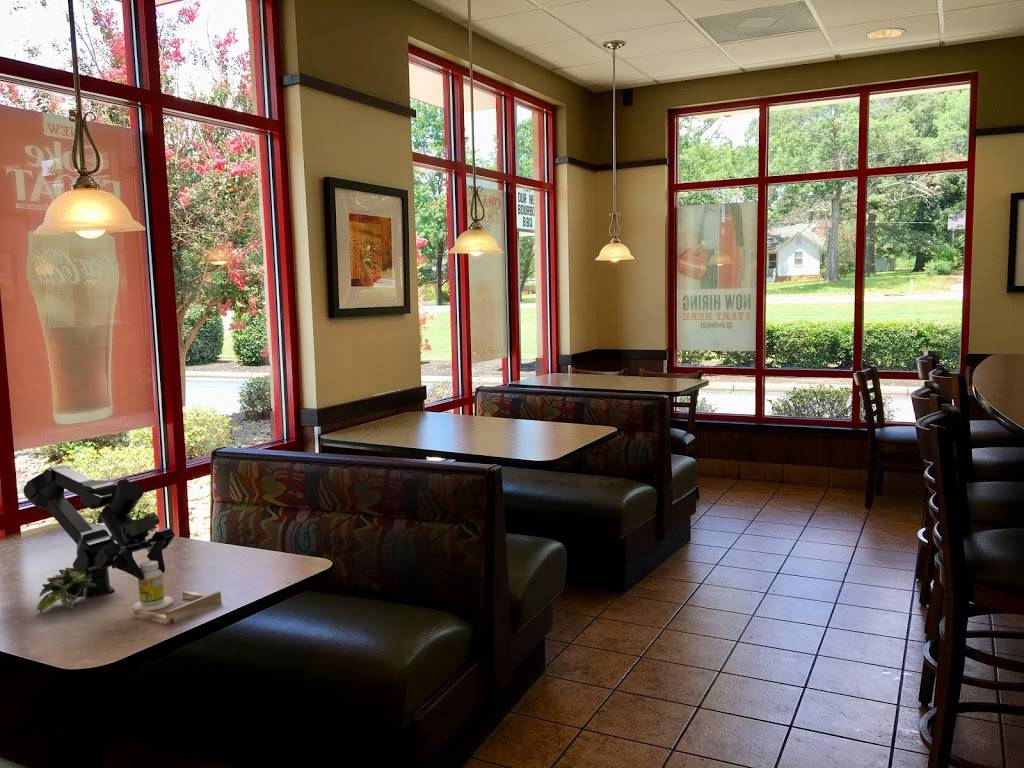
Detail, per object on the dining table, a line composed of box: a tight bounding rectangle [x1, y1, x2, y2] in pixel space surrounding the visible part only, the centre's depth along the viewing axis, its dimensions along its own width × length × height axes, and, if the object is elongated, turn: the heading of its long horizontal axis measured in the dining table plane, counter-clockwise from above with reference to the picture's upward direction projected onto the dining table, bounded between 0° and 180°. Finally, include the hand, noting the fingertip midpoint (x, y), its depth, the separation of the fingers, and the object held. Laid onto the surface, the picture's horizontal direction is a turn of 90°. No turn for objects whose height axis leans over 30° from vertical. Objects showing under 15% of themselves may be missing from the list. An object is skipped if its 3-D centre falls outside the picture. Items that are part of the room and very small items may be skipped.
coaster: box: [132, 595, 174, 612], centre depth 198 cm, size 9×9×1 cm
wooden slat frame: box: [133, 590, 222, 626], centre depth 194 cm, size 12×14×3 cm
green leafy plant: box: [36, 567, 96, 613], centre depth 199 cm, size 11×11×12 cm
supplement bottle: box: [137, 560, 165, 605], centre depth 198 cm, size 5×5×10 cm
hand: (153, 575), depth 197 cm, fingers closed on supplement bottle, 5 cm apart
